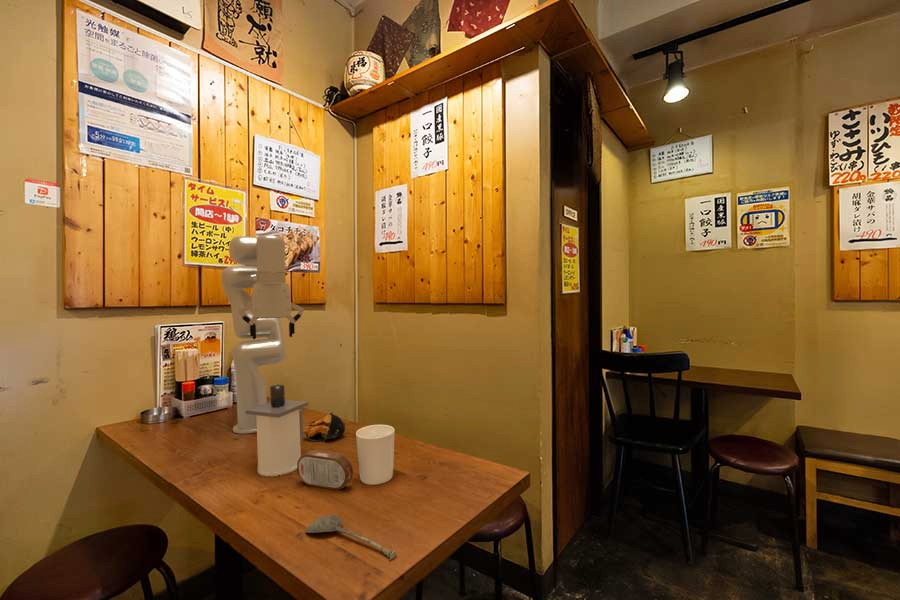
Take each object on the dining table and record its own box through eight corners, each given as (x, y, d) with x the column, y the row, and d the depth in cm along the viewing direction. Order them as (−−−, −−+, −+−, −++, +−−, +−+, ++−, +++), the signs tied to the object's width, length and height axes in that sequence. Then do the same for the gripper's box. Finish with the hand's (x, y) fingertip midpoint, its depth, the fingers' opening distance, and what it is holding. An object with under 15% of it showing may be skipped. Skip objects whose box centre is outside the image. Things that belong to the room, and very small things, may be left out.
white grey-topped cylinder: (286, 452, 117) (284, 396, 116) (316, 457, 113) (314, 399, 112) (247, 473, 104) (245, 410, 103) (280, 479, 100) (278, 413, 100)
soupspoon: (325, 520, 83) (298, 538, 78) (323, 504, 83) (297, 521, 77) (405, 550, 72) (381, 574, 66) (403, 532, 71) (379, 554, 66)
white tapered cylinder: (362, 490, 93) (361, 441, 93) (353, 473, 102) (351, 428, 102) (401, 480, 98) (400, 433, 97) (388, 465, 106) (387, 422, 106)
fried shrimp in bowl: (348, 427, 124) (290, 417, 117) (337, 454, 127) (280, 445, 120) (348, 409, 132) (294, 399, 126) (338, 434, 135) (285, 425, 129)
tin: (354, 487, 95) (353, 453, 95) (346, 493, 92) (345, 458, 92) (304, 479, 100) (302, 446, 100) (295, 485, 97) (294, 451, 97)
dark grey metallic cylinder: (279, 439, 112) (277, 382, 112) (300, 442, 109) (298, 383, 109) (257, 450, 105) (255, 388, 104) (279, 453, 102) (277, 390, 102)
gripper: (236, 278, 105) (238, 341, 106) (304, 278, 112) (305, 337, 113) (238, 278, 112) (240, 337, 112) (302, 278, 119) (303, 334, 120)
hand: (272, 337), depth 113 cm, fingers open, 9 cm apart
